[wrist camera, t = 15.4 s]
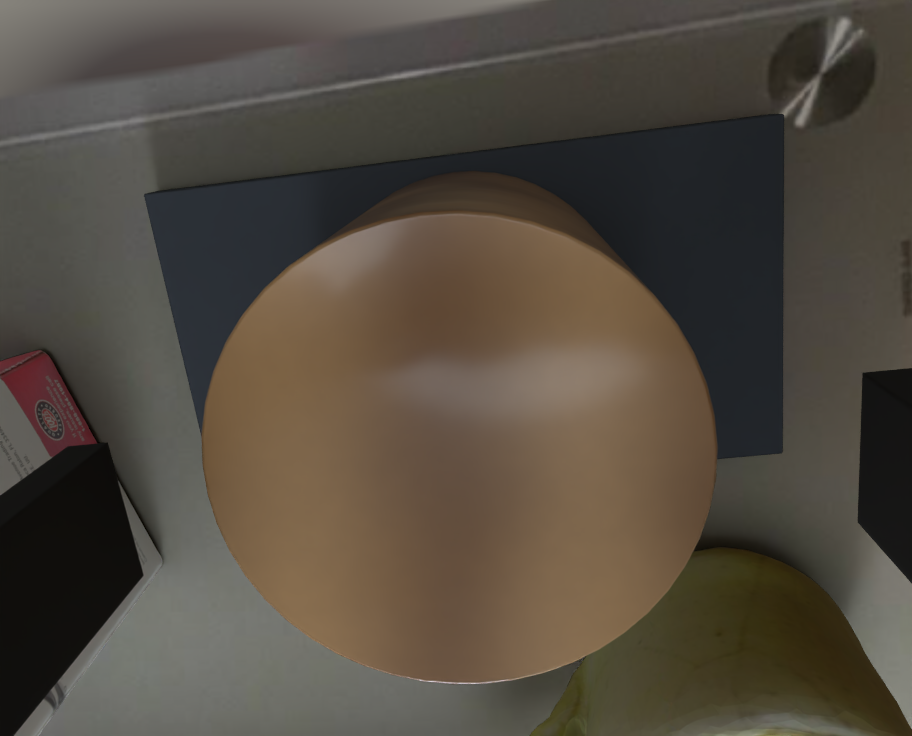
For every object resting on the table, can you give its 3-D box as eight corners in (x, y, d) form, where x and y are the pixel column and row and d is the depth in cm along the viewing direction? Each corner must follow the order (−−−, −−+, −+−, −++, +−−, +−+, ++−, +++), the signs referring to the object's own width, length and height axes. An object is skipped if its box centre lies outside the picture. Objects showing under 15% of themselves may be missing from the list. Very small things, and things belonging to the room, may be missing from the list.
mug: (906, 496, 23) (1036, 866, 15) (859, 690, 29) (935, 1028, 21) (501, 485, 26) (437, 787, 18) (533, 662, 32) (495, 947, 24)
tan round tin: (615, 151, 21) (712, 177, 12) (633, 450, 24) (723, 669, 14) (297, 191, 22) (145, 244, 12) (348, 477, 25) (256, 701, 15)
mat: (772, 113, 22) (784, 113, 21) (772, 441, 25) (783, 453, 24) (157, 190, 23) (142, 194, 22) (227, 490, 26) (217, 504, 25)
